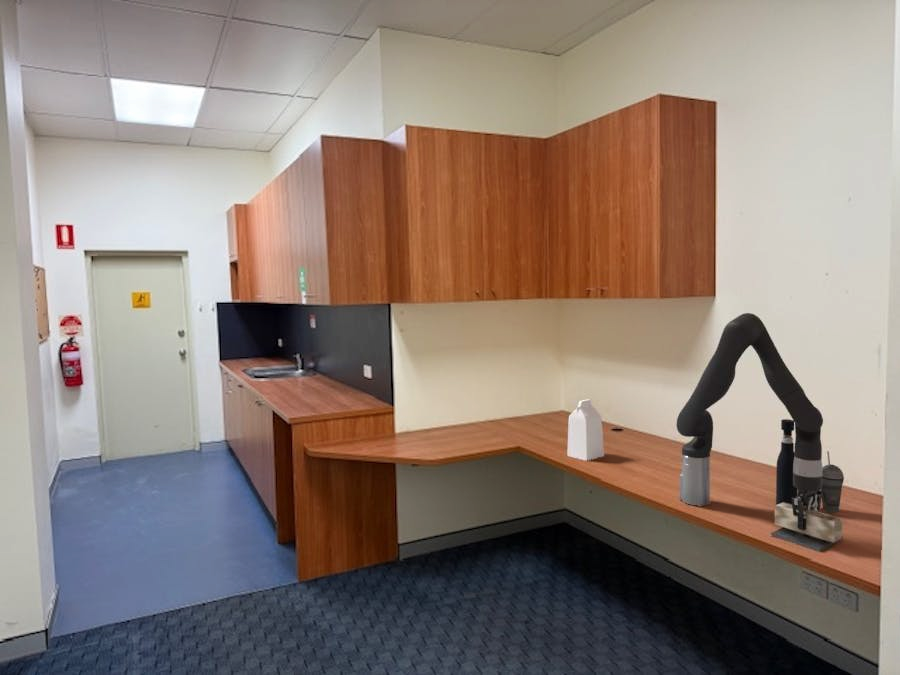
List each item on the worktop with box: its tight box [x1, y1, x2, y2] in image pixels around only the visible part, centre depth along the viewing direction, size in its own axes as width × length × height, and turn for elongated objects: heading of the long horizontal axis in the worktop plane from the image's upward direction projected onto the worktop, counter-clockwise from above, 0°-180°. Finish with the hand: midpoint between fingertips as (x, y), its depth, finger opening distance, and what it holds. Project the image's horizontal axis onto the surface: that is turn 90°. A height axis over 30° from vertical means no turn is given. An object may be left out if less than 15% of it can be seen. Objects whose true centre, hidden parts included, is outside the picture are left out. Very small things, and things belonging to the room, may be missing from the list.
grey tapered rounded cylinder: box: [820, 450, 845, 513], centre depth 201 cm, size 7×7×20 cm
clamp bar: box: [774, 502, 843, 543], centre depth 180 cm, size 17×5×6 cm, turn 33°
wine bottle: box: [775, 419, 798, 505], centre depth 205 cm, size 6×6×30 cm
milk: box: [566, 398, 605, 462], centre depth 274 cm, size 12×12×26 cm
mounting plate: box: [770, 513, 844, 553], centre depth 180 cm, size 14×14×8 cm
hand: (806, 526), depth 180 cm, fingers closed on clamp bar, 5 cm apart
